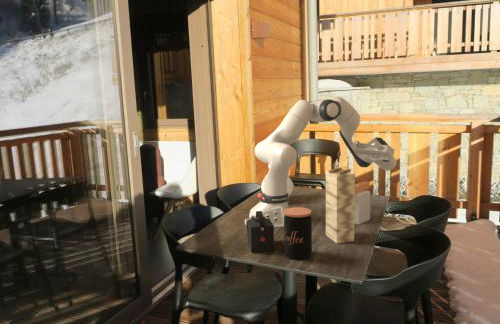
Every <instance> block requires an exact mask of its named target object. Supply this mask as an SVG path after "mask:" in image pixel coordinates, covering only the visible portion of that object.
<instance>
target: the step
mask: <svg viewBox="0 0 500 324" xmlns="http://www.w3.org/2000/svg"><path fill="white" fill-rule="evenodd" d="M370 219H371V191H370V190H367V189H366V190H363V191H360V192H357V193H355V207H354V225H360V224H363V223H365V222H367V221H370Z"/></svg>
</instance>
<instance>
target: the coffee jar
mask: <svg viewBox="0 0 500 324" xmlns="http://www.w3.org/2000/svg"><path fill="white" fill-rule="evenodd" d="M284 214H285V216H284V227H283V239H284V240H283V241H284V242H283V243H284V247H283V249H284V255H285V256H286V257H287V258H288V259H290V260H296V261H297V260H299V261H301V260H306V259H308V258H310V257H311V255H312V254H313V246H312V245H313V240H312V239H313V231H312V230H313V228H312V226H313V225H312V221H313V220H312V216H311V215H312V210H311V209H309V208H307V207H300V206H299V207H298V206H296V207H295V206H294V207H288V209H285V210H284Z"/></svg>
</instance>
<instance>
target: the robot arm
mask: <svg viewBox="0 0 500 324" xmlns="http://www.w3.org/2000/svg"><path fill="white" fill-rule="evenodd" d="M332 121H335V122H336V123H337V124H338V125H339V129H340V130H339V136H340V138H341V140H342V141H343V142H344V144H345V146H346V147H347V149H348V151H349V153H350V154H351V155H352V156H353V159H354V162H355V163H356V164H357V165H358V166H359V167H360V168H368V167H369V166H370V165H372V164H373V163H374V164H375V165H376V166H377V167H379V168H380V169H381V170H384V171H387V172H388V171H389V172H390V171H392V170H394V169H395V168H396V166H397V163H398V162H397V160H396V158H395V156H394V154H395V152H396V151H395V150H396V149H394V148H393V147H392V146H390V145H389V143H387V142H386V141H385V140H384V139H383V138H382V137H379V136H375V137H373V138H372V139H370V141H368V142H367V143H365V142H364V143H363V142H361V141H359V140H355V142H354V141H353V137H354V134H355V132H357V130H358V128H359V126H360V123H361V115H360V113H359V112H358V110H357V109H356V108H355V107H354V106H353V105H352V104H351V103H350V102H349V101H347V100H346V99H344V98H343V97H342V96H335V97H333V98H331V99H329V98H326V99H317V100H312V101H308V100H306V99H299V100H297V102H296V103H294V104H293V106H292V107H291V108H290V109H289V111H288V112H287V113H286V115H285V116H284V118H283V120H282V121H281V122H280V124H279V125H278V126H277V128H276V129H275V130H274V131H273V132H272V133H271V134H269V135H268V136H267V137H266V138H265V139H263V140H261V141H259V142H258V143H257V144H256V145H255V148H254V154H255V157H256V159H257V160H259V161H261V162H262V163H264V164H267V165H269V164H270V168H269V167H268V169H269V170H268V172H267V174H266V175H265V176H264V178H263V180H264V193H261V192H260V193H258V194H257V198H259V199H260V201H259V202H258V203H257V204H255V206H253V207H252V208H250V210H249V216H248V218H252V216H256V211H262V213H263V217H266V216H268V217H269V219H270V220H271V222H272V224H273V225H274V229H275V228H284V216H285V214H284V210H285V209H288V208H289V203H290V199H289V197H290V195H289V196H288V193H287V178H288V176H289V173H290V170H291V167H292V166H293V165H294V164H295V163H296V161H297V157H298V154H297V150H296V149H295V148H294V147H293V146H291V144H293V143H295V142H296V141H298V139H300V137H301V135H302V134H303V132H304V131H305V130H306V127H307V126H308V124H309V122H312V123H327V122H332ZM288 202H289V203H288ZM244 224H245V225H246V218H245V219H244Z"/></svg>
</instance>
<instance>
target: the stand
mask: <svg viewBox="0 0 500 324" xmlns="http://www.w3.org/2000/svg"><path fill="white" fill-rule="evenodd" d="M355 181H356V174H355V173H354V172H352V169H351V168H347V169H343V168H342V167H337V168H334V169H328V170H327V169H326V170H325V236H327V238H329V239H330V240H331V241H333V242H334V243H335V244H343V243H350V242H351V243H352V242H355V224H354V207H355V184H356V182H355Z"/></svg>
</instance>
